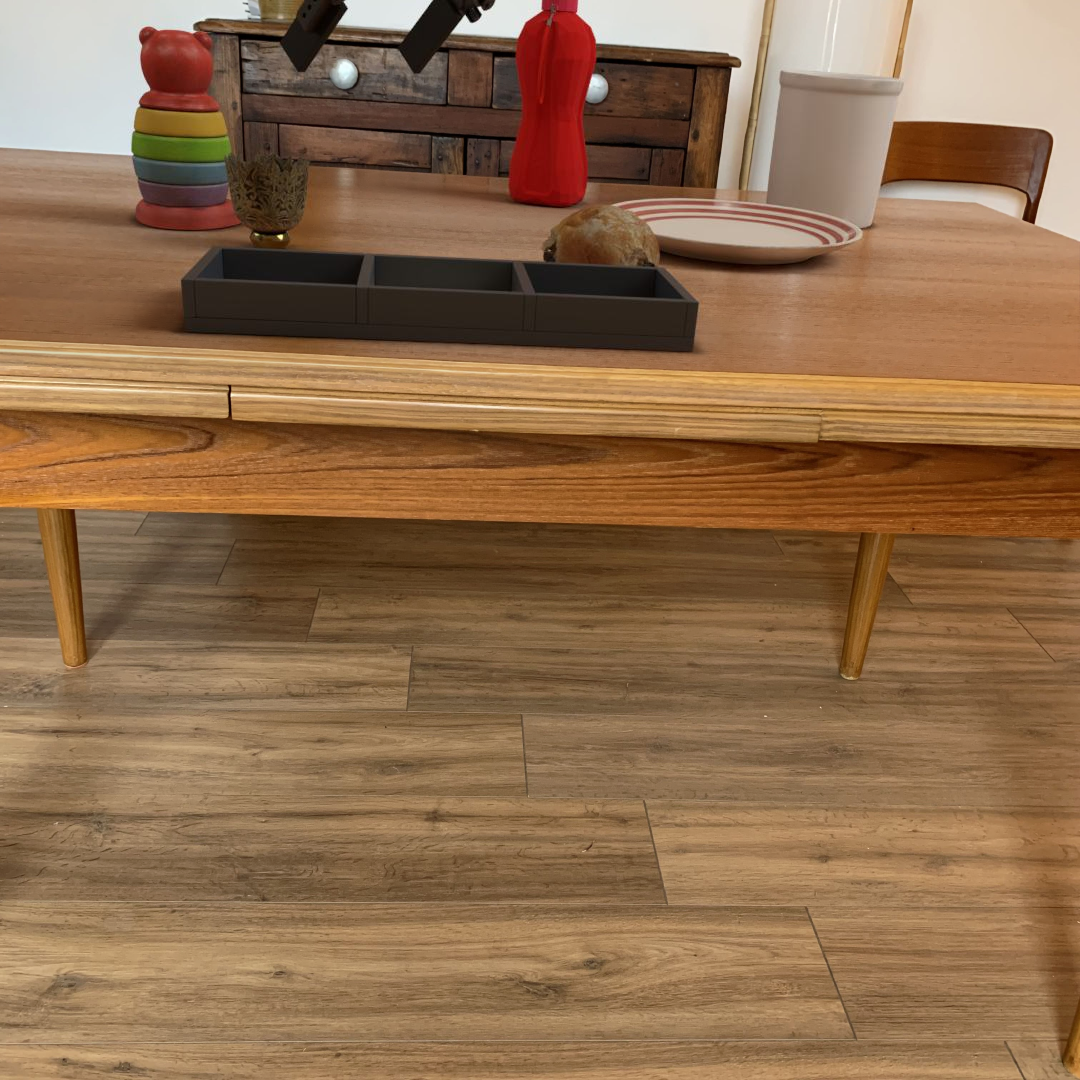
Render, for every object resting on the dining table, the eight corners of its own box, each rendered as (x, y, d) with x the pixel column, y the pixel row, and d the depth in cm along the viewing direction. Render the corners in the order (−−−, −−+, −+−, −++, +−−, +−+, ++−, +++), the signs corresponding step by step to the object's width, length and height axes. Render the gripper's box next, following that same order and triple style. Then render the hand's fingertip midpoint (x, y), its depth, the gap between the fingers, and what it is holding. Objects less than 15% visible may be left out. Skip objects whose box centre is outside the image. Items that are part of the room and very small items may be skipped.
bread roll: (602, 330, 95) (647, 251, 91) (514, 263, 97) (553, 183, 93) (648, 310, 103) (691, 237, 99) (565, 249, 105) (604, 175, 101)
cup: (290, 238, 106) (288, 151, 103) (325, 252, 101) (323, 161, 97) (216, 242, 102) (211, 151, 98) (248, 257, 96) (243, 161, 93)
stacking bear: (251, 217, 115) (242, 31, 108) (233, 233, 106) (222, 32, 99) (146, 211, 114) (130, 24, 107) (118, 227, 105) (99, 23, 98)
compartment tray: (184, 332, 73) (180, 279, 71) (215, 292, 84) (212, 245, 82) (692, 351, 77) (699, 302, 75) (659, 311, 88) (664, 267, 86)
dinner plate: (829, 287, 101) (835, 251, 100) (559, 248, 111) (561, 214, 109) (876, 248, 124) (882, 217, 122) (649, 218, 134) (652, 189, 132)
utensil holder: (876, 234, 133) (906, 79, 126) (754, 221, 136) (776, 69, 129) (876, 219, 146) (903, 77, 139) (764, 207, 149) (785, 68, 142)
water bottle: (495, 203, 136) (506, -22, 126) (524, 194, 146) (536, -15, 135) (566, 211, 134) (583, -17, 123) (591, 201, 143) (608, -11, 133)
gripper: (423, -149, 66) (261, 98, 79) (631, -96, 85) (471, 96, 98) (357, -250, 66) (207, 14, 80) (579, -174, 85) (427, 28, 99)
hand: (353, 59), depth 89 cm, fingers open, 13 cm apart
